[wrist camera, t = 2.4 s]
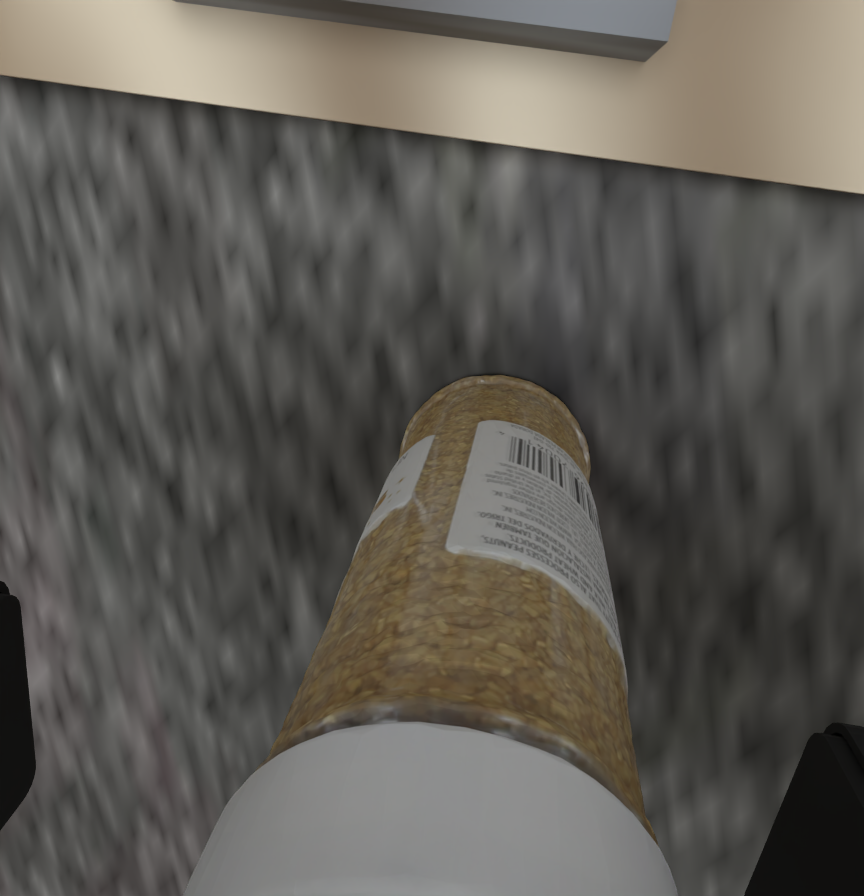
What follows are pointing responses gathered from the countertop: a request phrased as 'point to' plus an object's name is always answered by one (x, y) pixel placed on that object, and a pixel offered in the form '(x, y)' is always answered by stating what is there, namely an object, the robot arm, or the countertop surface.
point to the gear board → (495, 71)
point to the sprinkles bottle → (459, 687)
